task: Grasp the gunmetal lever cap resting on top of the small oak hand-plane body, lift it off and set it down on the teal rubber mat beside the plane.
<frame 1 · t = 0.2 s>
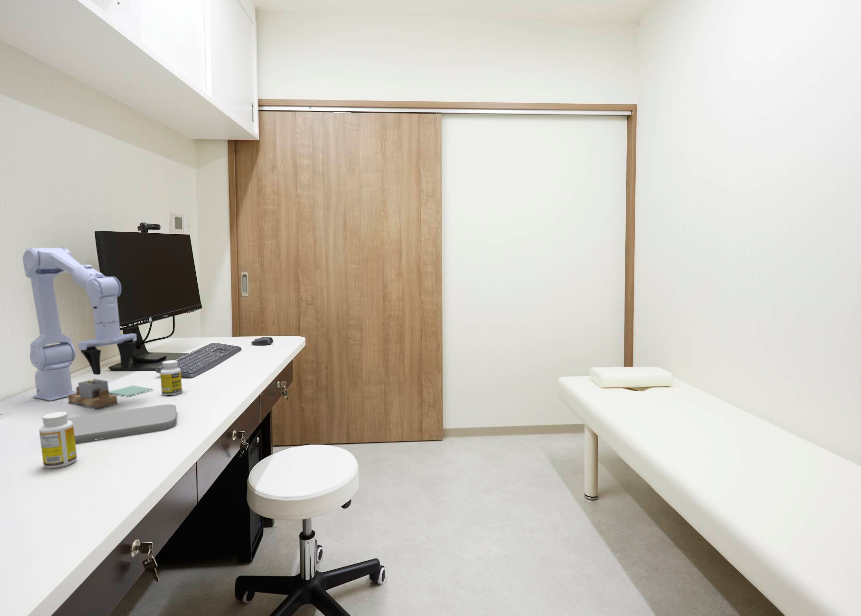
hand: (111, 371, 140), 10 cm above the table, tool pointing down, fingers open, 7 cm apart
plane body: (93, 403, 144), on the table
supplement bottle 2: (60, 464, 104), on the table
supplement bottle: (172, 394, 153), on the table
mat: (130, 391, 156), on the table
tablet: (117, 429, 125), on the table
lever cap: (94, 395, 144), point 2 cm above the table, touching plane body
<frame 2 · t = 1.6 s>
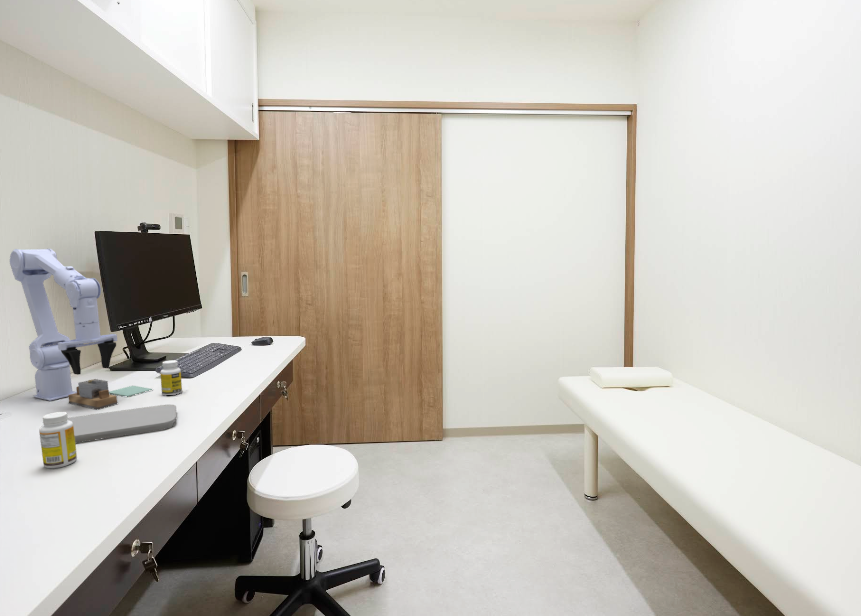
hand: (91, 370, 143), 10 cm above the table, tool pointing down, fingers open, 7 cm apart
nothing on the table moved.
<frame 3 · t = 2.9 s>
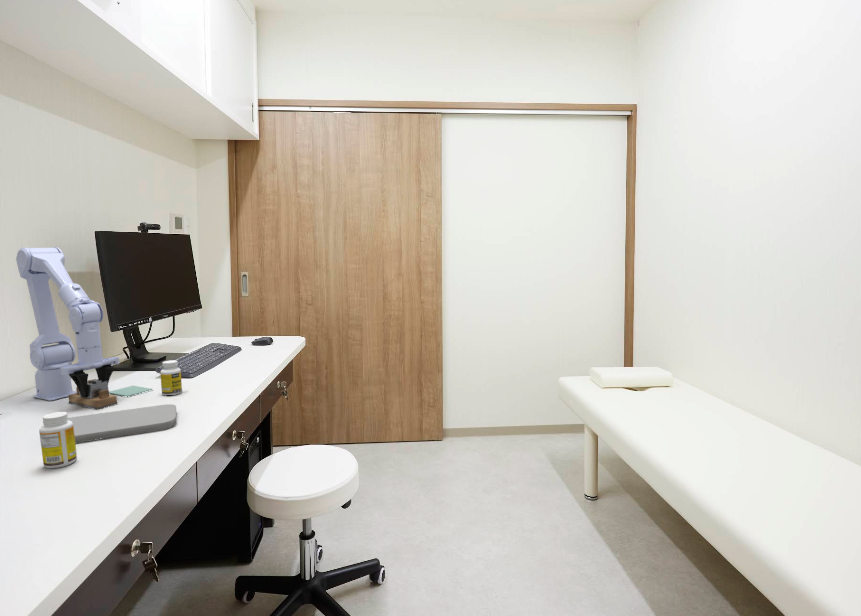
hand: (94, 394, 144), 3 cm above the table, tool pointing down, fingers closed on lever cap, 4 cm apart
lever cap: (94, 395, 144), point 2 cm above the table, touching gripper, plane body
everything else where it was.
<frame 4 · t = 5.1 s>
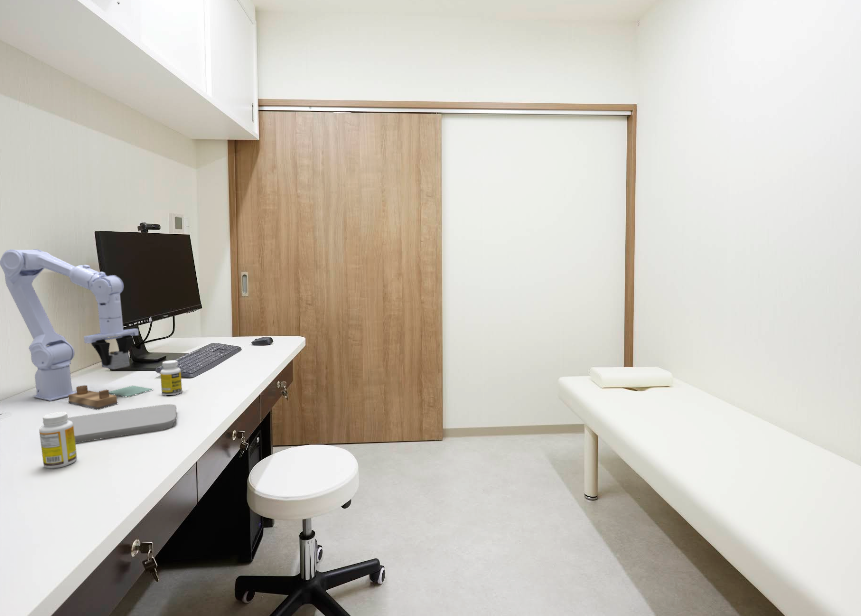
hand: (115, 363, 151), 10 cm above the table, tool pointing down, fingers closed on lever cap, 4 cm apart
lever cap: (115, 366, 151), point 9 cm above the table, touching gripper
everything else where it was.
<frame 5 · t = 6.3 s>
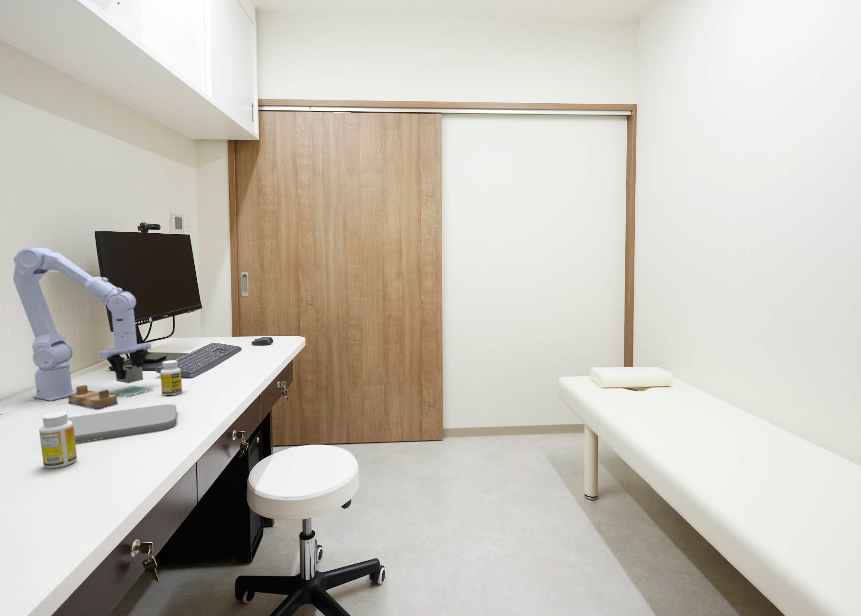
hand: (129, 376, 155), 5 cm above the table, tool pointing down, fingers closed on lever cap, 4 cm apart
lever cap: (129, 380, 155), point 4 cm above the table, touching gripper
everything else where it was.
when the fingers open (2 cm above the table, at t = 7.3 s): lever cap stays where it is, resting on mat.
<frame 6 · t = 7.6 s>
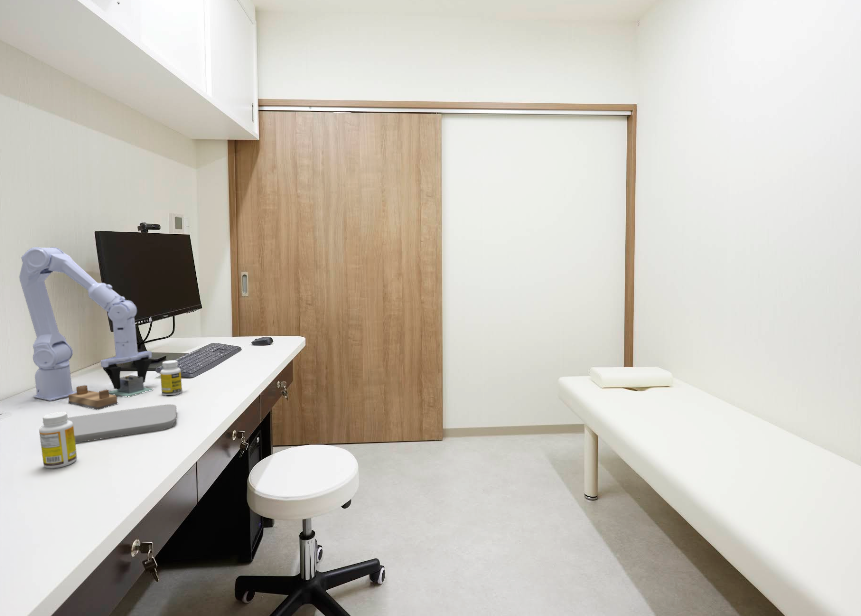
hand: (129, 385, 156), 2 cm above the table, tool pointing down, fingers open, 7 cm apart
lever cap: (130, 390, 156), resting on mat
everything else where it was.
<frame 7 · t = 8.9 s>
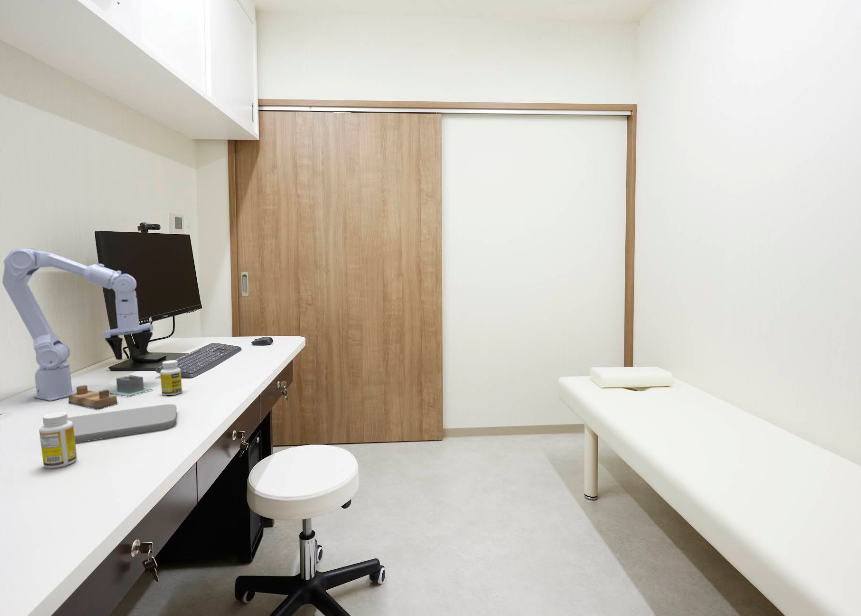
hand: (131, 357, 159), 10 cm above the table, tool pointing down, fingers open, 7 cm apart
nothing on the table moved.
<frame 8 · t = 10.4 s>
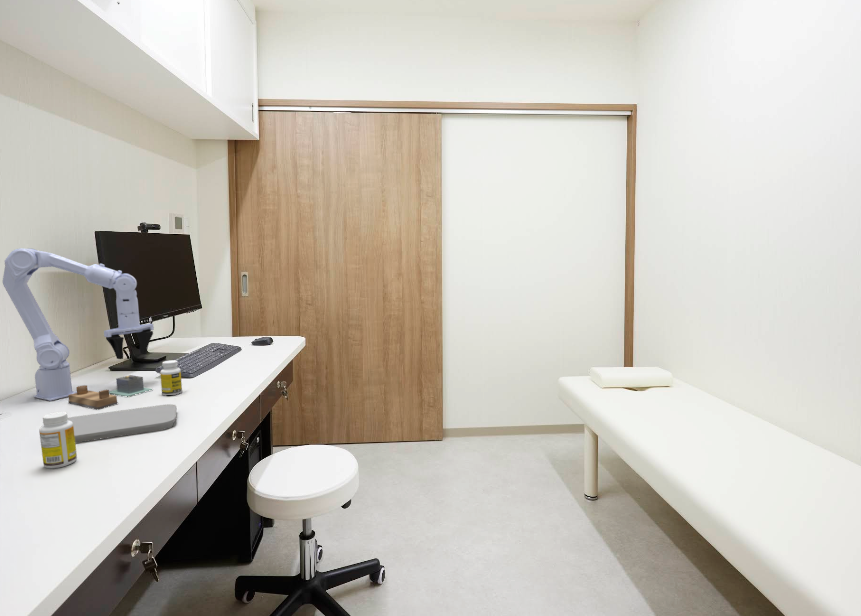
hand: (132, 356, 160), 10 cm above the table, tool pointing down, fingers open, 7 cm apart
nothing on the table moved.
at the end: lever cap inside the target area (0.2 cm from its centre), resting on mat; the gripper is holding nothing; lever cap touching mat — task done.
